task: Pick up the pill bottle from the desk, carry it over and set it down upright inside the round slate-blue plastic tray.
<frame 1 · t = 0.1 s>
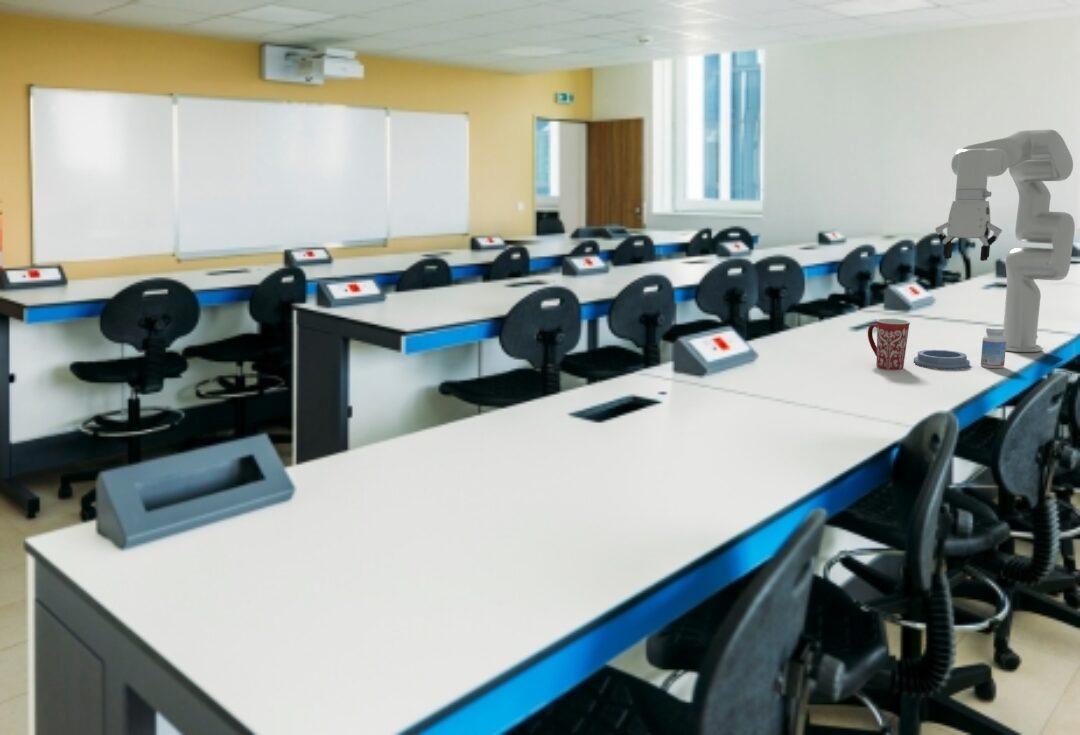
hand: (965, 259, 258), 31 cm above the table, fingers open, 9 cm apart
mug: (885, 367, 271), on the table
round tray: (941, 364, 273), on the table
pill bottle: (992, 367, 269), on the table
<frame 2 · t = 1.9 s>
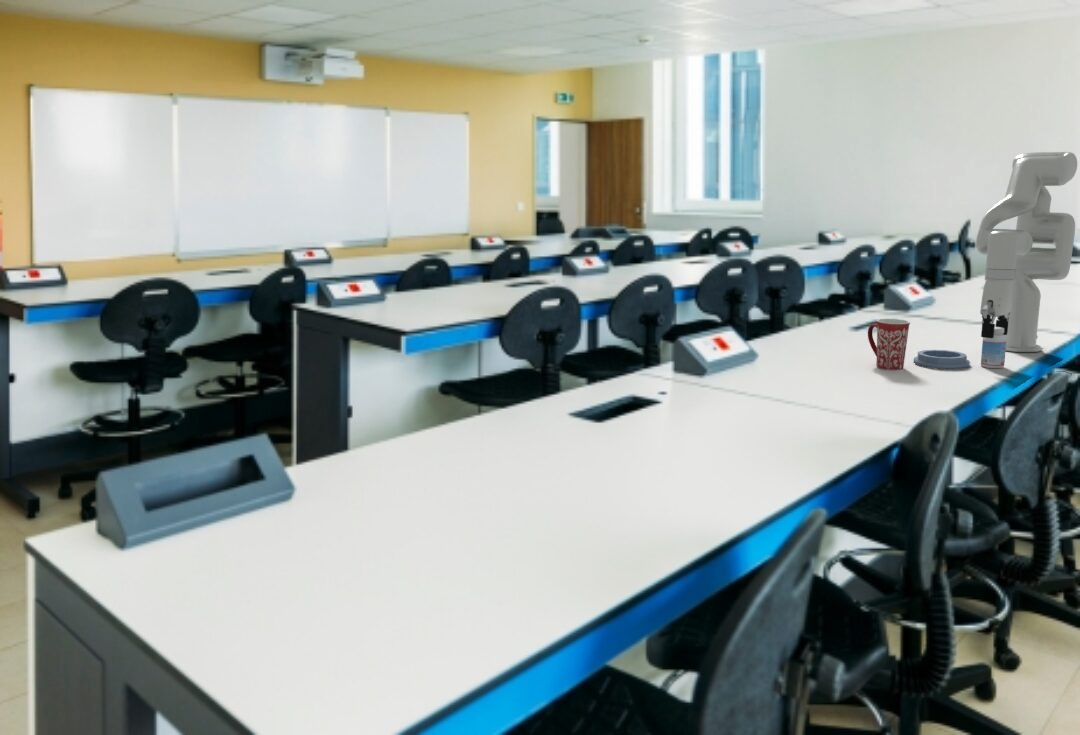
hand: (994, 336, 266), 9 cm above the table, fingers open, 9 cm apart
nothing on the table moved.
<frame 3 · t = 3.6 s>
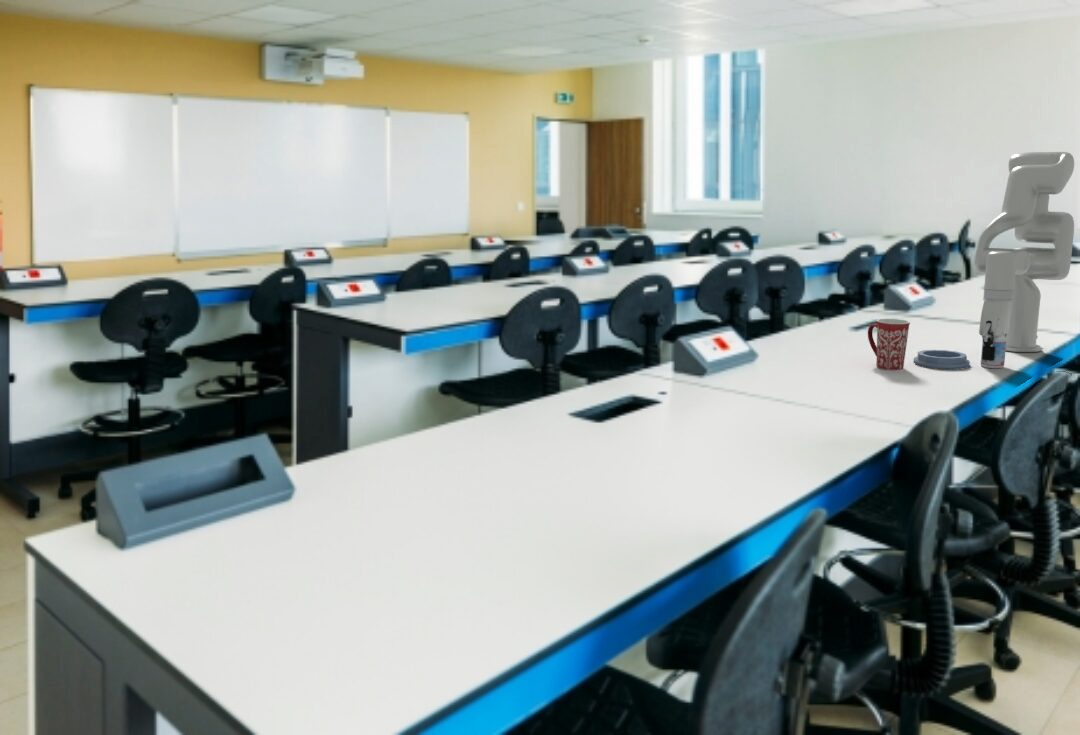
hand: (992, 357, 268), 3 cm above the table, fingers closed on pill bottle, 6 cm apart
pill bottle: (992, 367, 269), on the table, touching gripper
everything else where it was.
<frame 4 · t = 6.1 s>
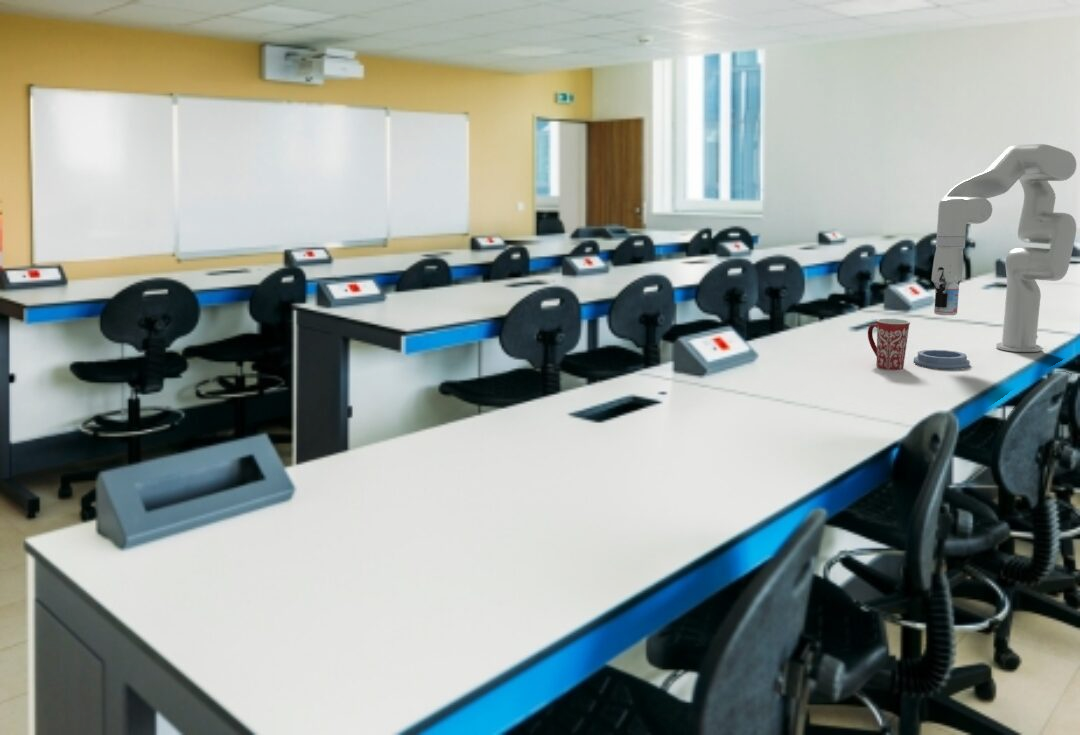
hand: (945, 305, 270), 17 cm above the table, fingers closed on pill bottle, 6 cm apart
pill bottle: (945, 315, 270), point 14 cm above the table, touching gripper
everything else where it was.
when the fingers open (5 cm above the table, at t = 9.1 s): pill bottle drops 1 cm, resting on round tray.
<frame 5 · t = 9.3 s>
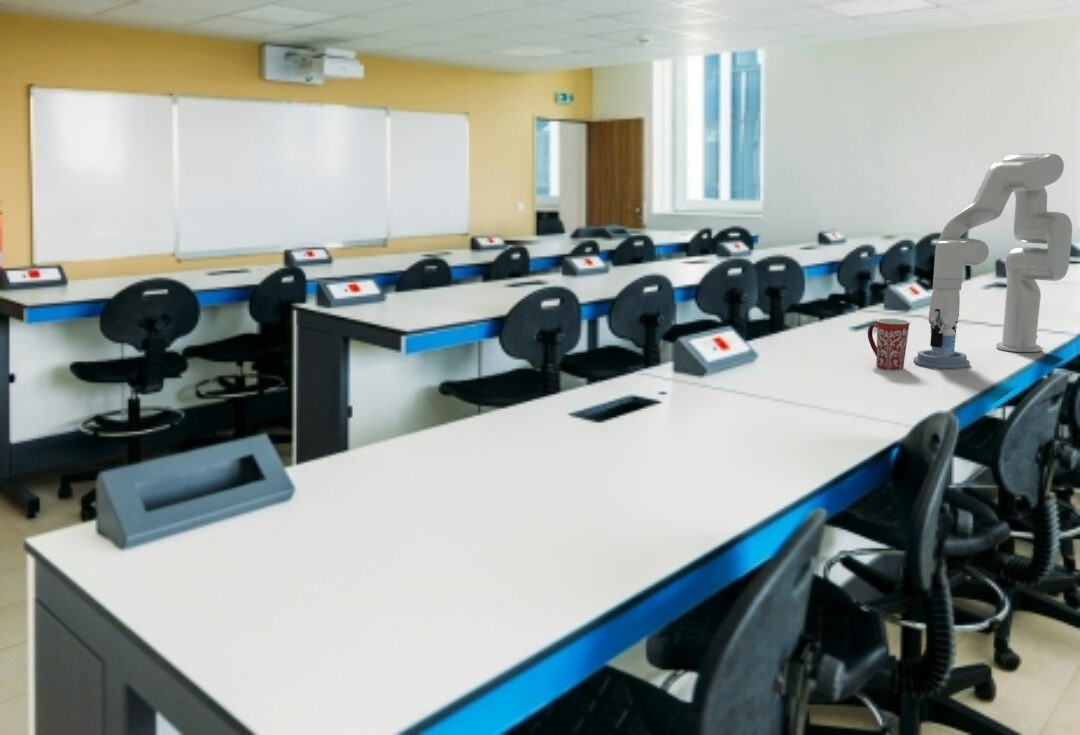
hand: (942, 344, 272), 6 cm above the table, fingers open, 8 cm apart
pill bottle: (942, 360, 273), point 1 cm above the table, touching round tray
everything else where it was.
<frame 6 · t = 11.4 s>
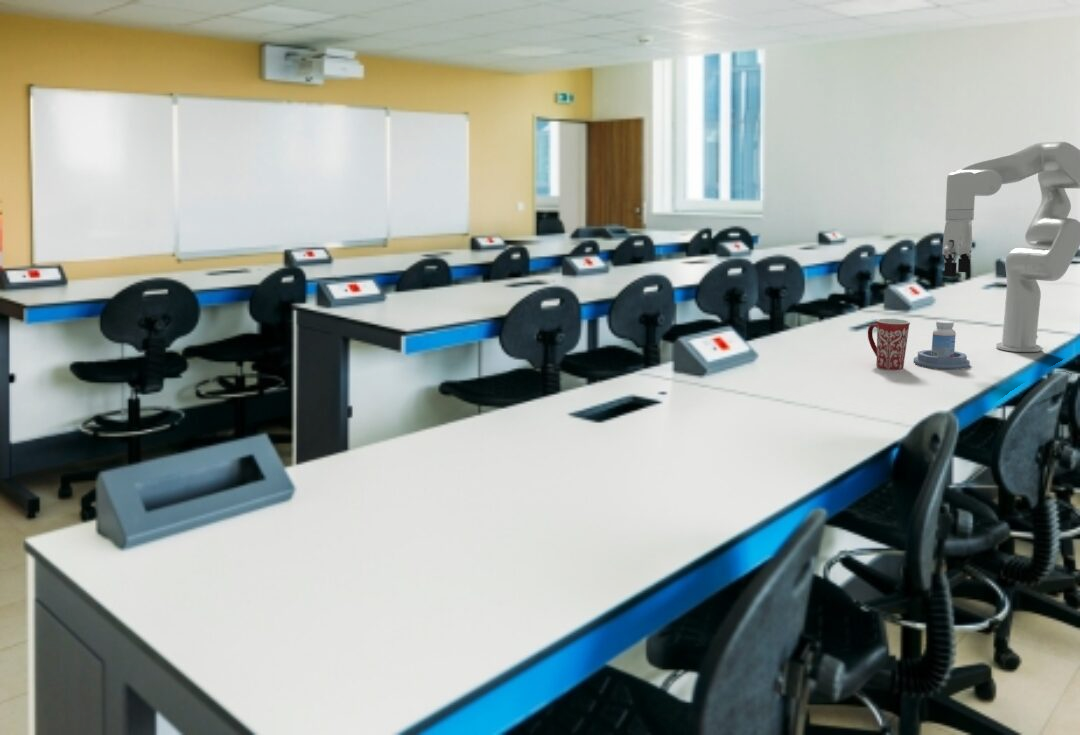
hand: (957, 274, 277), 25 cm above the table, fingers open, 9 cm apart
nothing on the table moved.
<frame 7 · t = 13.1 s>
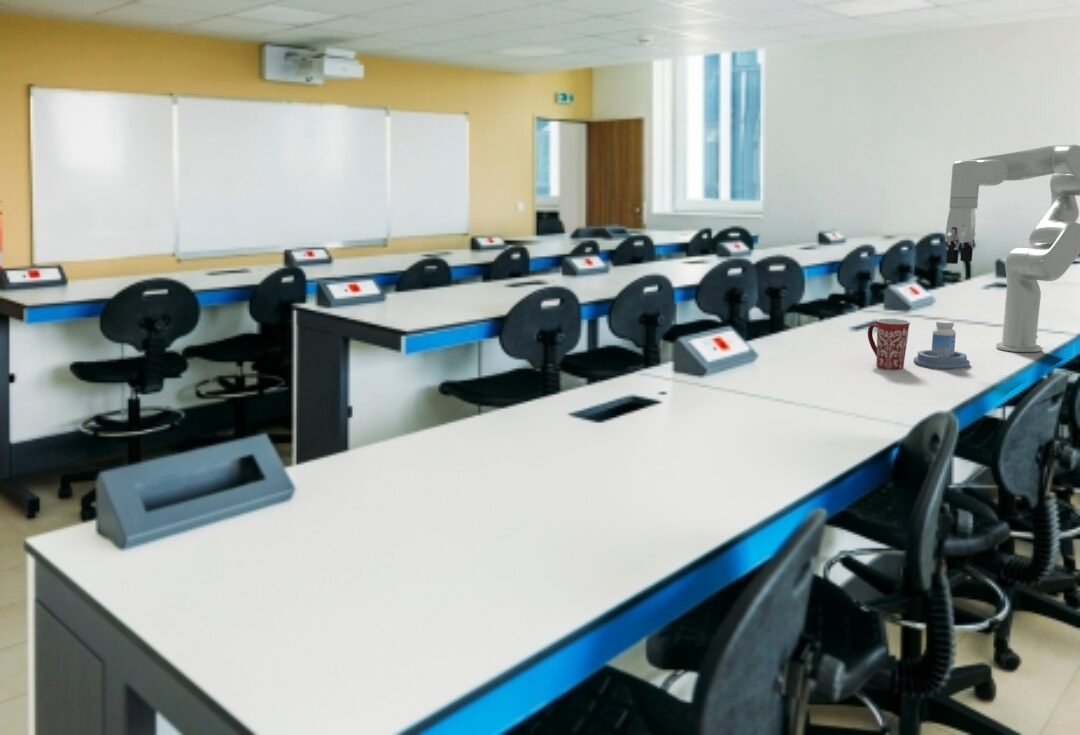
hand: (959, 262, 279), 28 cm above the table, fingers open, 9 cm apart
nothing on the table moved.
at the end: pill bottle inside the target area on the round tray (0.3 cm from its centre), point 1.0 cm above the round tray's base; pill bottle tilted 0°; the gripper is holding nothing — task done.
